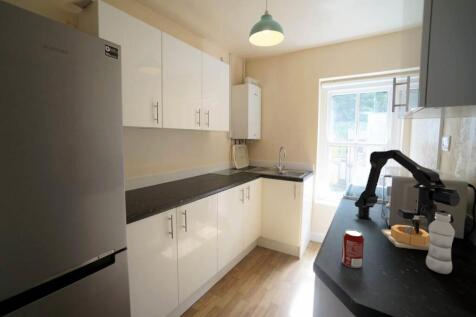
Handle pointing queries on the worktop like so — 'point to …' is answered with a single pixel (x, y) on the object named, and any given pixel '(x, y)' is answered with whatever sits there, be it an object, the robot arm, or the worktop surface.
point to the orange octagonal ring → (415, 239)
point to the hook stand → (401, 243)
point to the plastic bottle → (440, 244)
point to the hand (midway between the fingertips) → (423, 234)
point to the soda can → (352, 248)
